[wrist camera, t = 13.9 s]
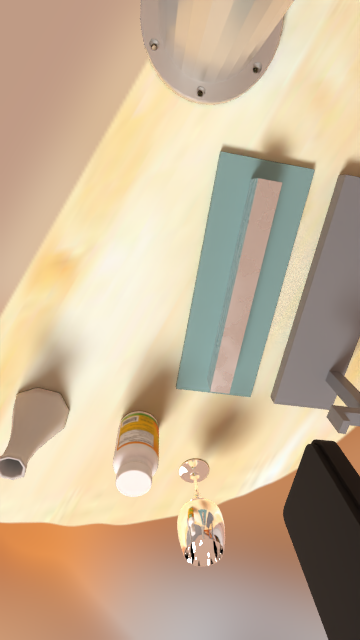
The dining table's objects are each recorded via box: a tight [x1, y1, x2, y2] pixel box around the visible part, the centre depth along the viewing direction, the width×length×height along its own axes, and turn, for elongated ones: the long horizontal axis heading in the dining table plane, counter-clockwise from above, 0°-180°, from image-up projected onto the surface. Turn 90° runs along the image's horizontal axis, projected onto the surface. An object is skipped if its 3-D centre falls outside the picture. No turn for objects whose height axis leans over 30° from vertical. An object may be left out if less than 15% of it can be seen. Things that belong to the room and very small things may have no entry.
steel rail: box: [207, 178, 282, 394], centre depth 38 cm, size 24×2×3 cm, turn 171°
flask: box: [0, 388, 69, 480], centre depth 40 cm, size 7×7×10 cm
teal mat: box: [176, 152, 315, 397], centre depth 39 cm, size 28×10×1 cm, turn 170°
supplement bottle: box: [113, 411, 159, 497], centre depth 41 cm, size 5×5×10 cm
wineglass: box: [177, 459, 225, 566], centre depth 44 cm, size 6×6×12 cm
